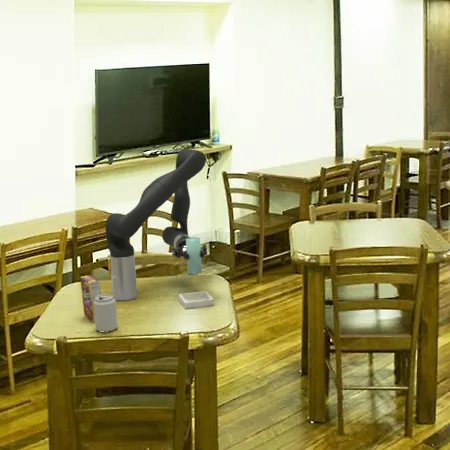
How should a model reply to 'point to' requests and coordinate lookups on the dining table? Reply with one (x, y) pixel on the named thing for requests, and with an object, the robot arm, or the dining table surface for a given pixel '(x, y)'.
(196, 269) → the pale green cylinder
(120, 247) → the robot arm
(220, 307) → the dining table surface
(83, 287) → the candy box
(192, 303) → the tray
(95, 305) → the can
